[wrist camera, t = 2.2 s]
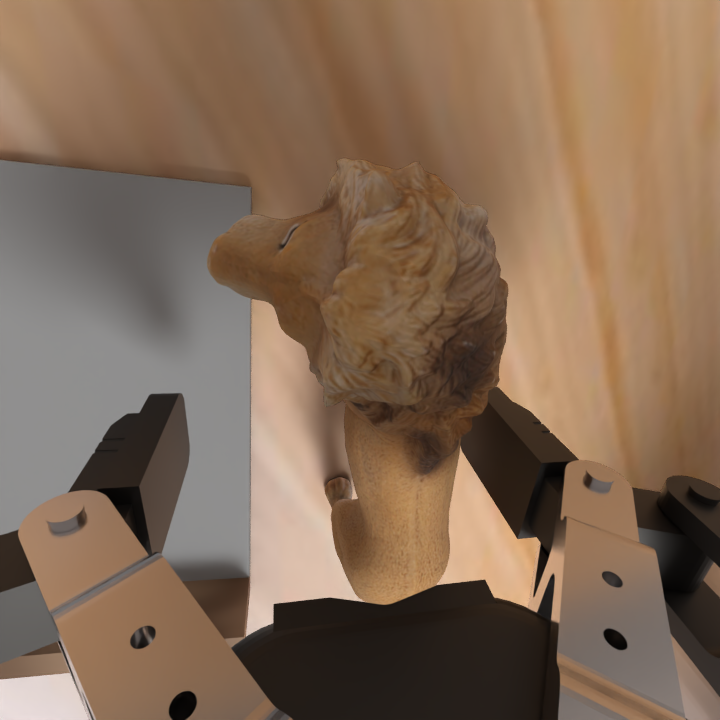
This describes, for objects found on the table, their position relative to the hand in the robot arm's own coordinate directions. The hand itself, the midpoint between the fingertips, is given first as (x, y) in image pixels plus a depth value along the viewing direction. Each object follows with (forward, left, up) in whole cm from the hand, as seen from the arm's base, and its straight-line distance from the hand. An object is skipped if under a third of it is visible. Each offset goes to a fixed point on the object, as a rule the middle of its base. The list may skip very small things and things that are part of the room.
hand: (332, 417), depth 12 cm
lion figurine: (-1, 0, -4) cm, 4 cm away
